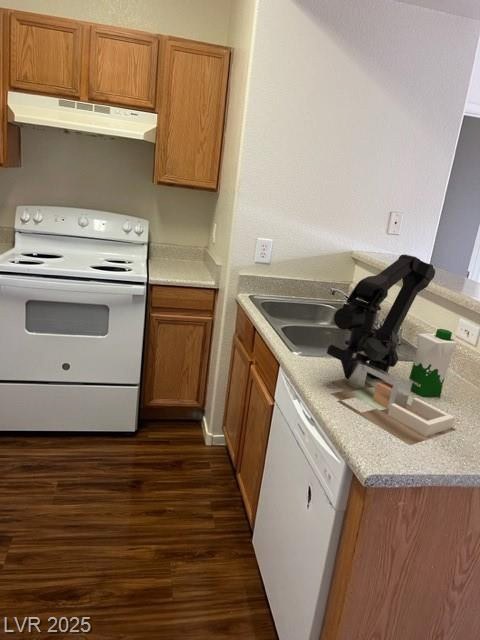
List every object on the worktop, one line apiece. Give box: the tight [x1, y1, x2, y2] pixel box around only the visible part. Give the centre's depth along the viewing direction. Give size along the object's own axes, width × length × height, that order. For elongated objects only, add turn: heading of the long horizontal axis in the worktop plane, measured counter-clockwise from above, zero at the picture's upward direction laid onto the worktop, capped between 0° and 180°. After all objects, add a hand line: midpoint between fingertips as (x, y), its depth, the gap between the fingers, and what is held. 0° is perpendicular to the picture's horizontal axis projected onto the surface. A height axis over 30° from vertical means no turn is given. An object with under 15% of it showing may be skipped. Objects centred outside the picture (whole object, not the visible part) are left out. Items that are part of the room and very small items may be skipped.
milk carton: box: [408, 328, 458, 399], centre depth 137 cm, size 9×9×20 cm
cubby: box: [388, 397, 456, 436], centre depth 119 cm, size 11×11×3 cm
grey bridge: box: [349, 360, 412, 410], centre depth 130 cm, size 6×16×8 cm, turn 36°
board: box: [329, 378, 457, 446], centre depth 125 cm, size 19×32×2 cm, turn 35°
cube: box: [373, 380, 393, 408], centre depth 127 cm, size 5×5×5 cm
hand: (351, 377), depth 137 cm, fingers closed on grey bridge, 3 cm apart
